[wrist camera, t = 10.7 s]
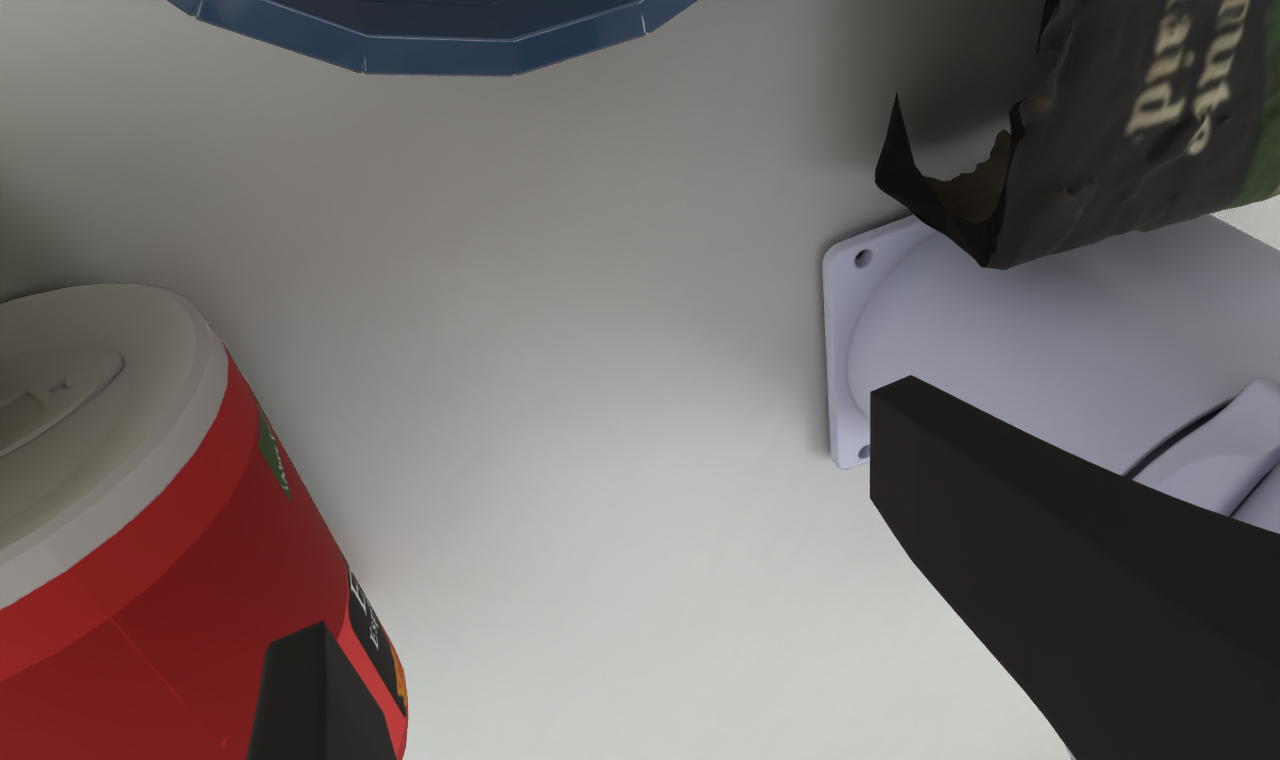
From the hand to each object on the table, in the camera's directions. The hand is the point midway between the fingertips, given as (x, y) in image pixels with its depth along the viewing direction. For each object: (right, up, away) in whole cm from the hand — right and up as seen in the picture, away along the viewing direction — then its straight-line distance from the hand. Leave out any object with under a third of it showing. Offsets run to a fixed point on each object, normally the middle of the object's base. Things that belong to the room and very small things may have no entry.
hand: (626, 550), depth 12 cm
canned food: (-9, -7, +10) cm, 15 cm away
